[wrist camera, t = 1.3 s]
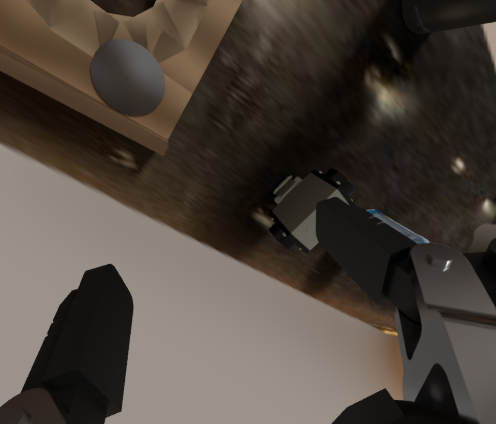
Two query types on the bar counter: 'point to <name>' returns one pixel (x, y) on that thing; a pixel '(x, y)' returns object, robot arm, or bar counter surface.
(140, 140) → the jig
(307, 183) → the pneumatic valve
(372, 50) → the bar counter surface
